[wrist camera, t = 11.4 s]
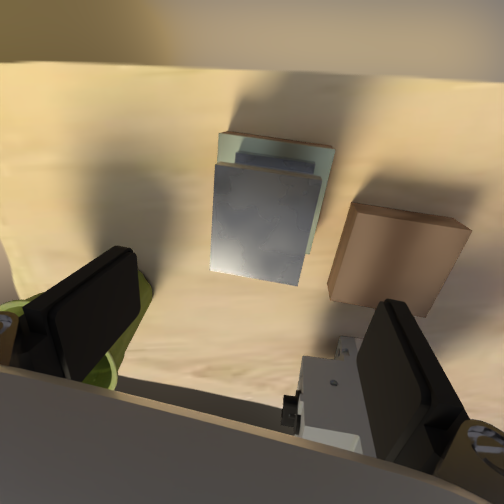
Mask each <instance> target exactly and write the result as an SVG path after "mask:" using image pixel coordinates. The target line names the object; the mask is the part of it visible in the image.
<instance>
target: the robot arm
mask: <svg viewBox="0 0 504 504" xmlns="http://www.w3.org/2000/svg"><path fill="white" fill-rule="evenodd" d="M22 309H23V312H24V314H23V315H21V316H20V317H18V316H17V315H16V314H15V313H12V312H9V311H0V504H504V432H503V431H501V430H500V429H498V428H496V427H494V426H493V425H491V424H488V423H486V422H483V421H480V420H474V419H470V418H469V416H468V415H467V413H466V411H465V409H464V407H463V405H462V403H461V401H460V399H459V398H458V396H457V394H456V392H455V390H454V389H453V387H452V385H451V383H450V381H449V380H448V378H447V376H446V374H445V372H444V371H443V369H442V367H441V365H440V363H439V362H438V360H437V358H436V356H435V355H434V353H433V351H432V349H431V347H430V346H429V344H428V342H427V340H426V338H425V337H424V335H423V333H422V331H421V329H420V328H419V326H418V324H417V322H416V320H415V319H414V317H413V315H412V313H411V311H410V310H409V308H408V306H407V304H406V303H405V302H403V301H398V300H393V299H388V298H387V299H386V300H385V301H384V302H383V301H380V302H379V304H378V306H377V308H376V311H375V313H374V315H373V318H372V320H371V323H370V325H369V327H368V330H367V332H366V335H365V337H364V339H363V342H362V344H361V347H360V349H359V351H358V354H357V359H356V363H357V369H358V373H359V378H360V383H361V387H362V392H363V397H364V401H365V406H366V411H367V415H368V420H369V425H370V429H371V434H372V438H373V443H374V448H375V452H376V457H377V458H374V457H370V456H366V455H363V454H359V453H356V452H352V451H348V450H345V449H341V448H338V447H334V446H330V445H326V444H322V443H318V442H314V441H311V440H307V439H303V438H299V437H295V436H291V435H287V434H284V433H280V432H276V431H272V430H268V429H264V428H260V427H256V426H252V425H249V424H245V423H241V422H237V421H233V420H229V419H225V418H221V417H217V416H213V415H209V414H206V413H202V412H198V411H194V410H190V409H185V408H182V407H178V406H174V405H170V404H166V403H162V402H158V401H153V400H150V399H146V398H142V397H138V396H134V395H130V394H126V393H122V392H118V391H114V390H110V389H106V388H102V387H97V386H93V385H89V384H85V383H81V382H82V381H83V380H84V379H85V377H86V376H87V375H88V374H89V373H90V372H91V370H92V369H93V368H94V367H95V366H96V365H97V363H98V362H99V361H100V360H101V359H102V357H103V356H104V355H105V354H106V353H107V352H108V350H109V349H110V348H111V347H112V346H113V345H114V343H115V342H116V341H117V340H118V339H119V338H120V336H121V335H122V334H123V333H124V332H125V330H126V329H127V328H128V327H129V326H130V325H131V323H132V322H133V321H134V320H135V319H136V318H137V316H138V315H139V313H140V310H141V302H140V291H139V279H138V267H137V256H136V254H135V253H133V251H132V249H131V248H127V247H121V246H114V247H112V248H111V249H109V250H108V251H106V252H105V253H103V254H102V255H100V256H99V257H97V258H96V259H94V260H93V261H91V262H90V263H88V264H86V265H85V266H83V267H82V268H80V269H79V270H77V271H76V272H74V273H73V274H71V275H70V276H68V277H67V278H65V279H64V280H62V281H61V282H59V283H58V284H56V285H55V286H53V287H52V288H50V289H49V290H47V291H46V292H44V293H43V294H41V295H40V296H38V297H37V298H35V299H34V300H32V301H31V302H29V303H28V304H26V305H24V306H23V307H22Z"/></svg>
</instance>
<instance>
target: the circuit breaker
mask: <svg viewBox="0 0 504 504" xmlns="http://www.w3.org/2000/svg"><path fill="white" fill-rule="evenodd" d="M362 342H363V339H361V338H353V337H345V336H340V338H339V342H338V346H337V350H336V354H335V358H334V360H332V359H325V358H317V357H310V356H303V357H302V363H301V369H300V375H299V381H298V387H297V390H296V394H295V396H288V395H284V398H283V409H282V413H281V425H283V426H289V427H294V434H295V437H299V438H303V439H307V440H311V441H314V442H318V443H322V444H326V445H330V446H334V447H338V448H341V449H345V450H348V451H352V452H356V453H359V454H363V455H366V456H370V457H374V458H377V457H376V452H375V448H374V443H373V438H372V434H371V429H370V425H369V420H368V415H367V411H366V406H365V401H364V397H363V392H362V387H361V383H360V378H359V373H358V369H357V363H356V359H357V354H358V351H359V349H360V347H361V344H362Z"/></svg>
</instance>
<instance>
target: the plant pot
mask: <svg viewBox="0 0 504 504" xmlns="http://www.w3.org/2000/svg"><path fill="white" fill-rule="evenodd" d="M138 279H139V291H140V302H141V310H140V313H139V315H138V316H137V318H136V319H135V320H134V321H133V322H132V323H131V325H130V326H129V327H128V328H127V329H126V330H125V332H124V333H123V334H122V335H121V336H120V338H119V339H118V340H117V341H116V342H115V343H114V345H113V346H112V347H111V348H110V349H109V350H108V352H107V353H106V354H105V355H104V356H103V357H102V359H101V360H100V361H99V362H98V363H97V365H96V366H95V367H94V368H93V369H92V370H91V372H90V373H89V374H88V375H87V376H86V377H85V379H84V380H83V381H82V382H81V383H85V384H89V385H93V386H97V387H102V388H106V389H110V390H114V389H115V387H116V384H117V380H118V369H119V367H120V365H121V363H122V361H123V358H124V354H125V351H126V349H127V347H128V345H129V343H130V341H131V340H132V338H133V336H134V334H135V332H136V330H137V328H138V326H139V324H140V322H141V320H142V318H143V316H144V314H145V312H146V310H147V309H148V307H149V305H150V303H151V300H152V289H151V286H150V284H149V283H148V282H147V281H146V279H145V278H144V276H143V274H142V273H141V272H140V271H139V270H138ZM43 293H44V292H43ZM43 293H40V294H37V295H35V296H32V297H30V298H28V299H26V300H13V301H9V302H6V303H4V304H2V305H0V311H9V312H12V313H15V314H16V315H17V316H18V317H20V316H21V315H23V314H24V312H23V309H22V307H23V306H24V305H26V304H28V303H29V302H31V301H32V300H34V299H35V298H37V297H38V296H40V295H41V294H43Z"/></svg>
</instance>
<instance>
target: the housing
mask: <svg viewBox="0 0 504 504" xmlns="http://www.w3.org/2000/svg"><path fill="white" fill-rule="evenodd" d="M314 169H315V161H308V160H301V159H294V158H287V157H280V156H273V155H267V154H260V153H253V152H246V151H237V152H236V154H235V162H234V163H228V162H222V161H220V162H218V163H217V164H215V177H214V196H213V215H212V234H211V253H210V271H215V272H221V273H227V274H232V275H238V276H243V277H249V278H254V279H260V280H265V281H271V282H277V283H282V284H288V285H293V286H298V282H299V278H300V273H301V269H302V265H303V261H304V256H305V252H306V248H307V244H308V240H309V235H310V231H311V227H312V223H313V219H314V214H315V210H316V206H317V202H318V197H319V193H320V189H321V185H322V178H321V176H316V175H314Z"/></svg>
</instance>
